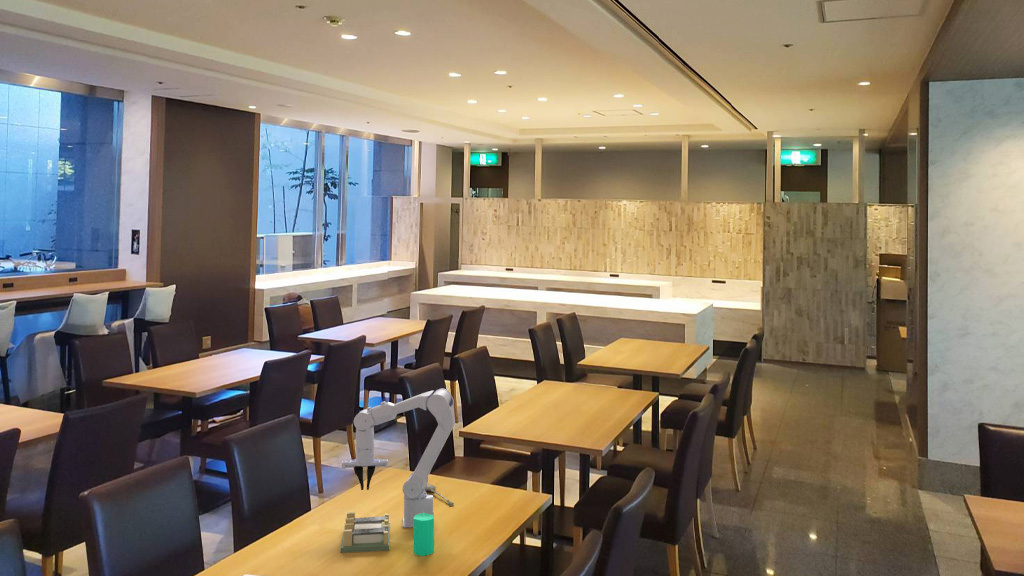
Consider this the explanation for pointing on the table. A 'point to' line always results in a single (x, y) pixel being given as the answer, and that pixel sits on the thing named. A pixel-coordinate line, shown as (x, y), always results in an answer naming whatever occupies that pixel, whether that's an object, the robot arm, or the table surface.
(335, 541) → the table surface
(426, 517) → the candle
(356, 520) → the strap far
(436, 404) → the robot arm
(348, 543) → the board
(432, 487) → the soupspoon
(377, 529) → the strap near
